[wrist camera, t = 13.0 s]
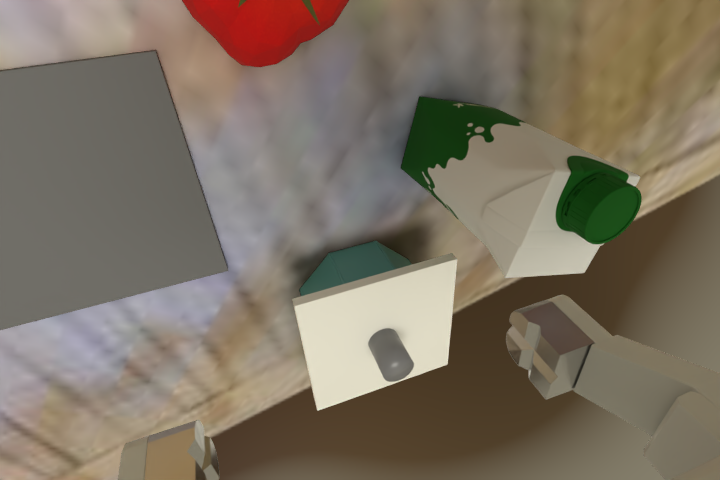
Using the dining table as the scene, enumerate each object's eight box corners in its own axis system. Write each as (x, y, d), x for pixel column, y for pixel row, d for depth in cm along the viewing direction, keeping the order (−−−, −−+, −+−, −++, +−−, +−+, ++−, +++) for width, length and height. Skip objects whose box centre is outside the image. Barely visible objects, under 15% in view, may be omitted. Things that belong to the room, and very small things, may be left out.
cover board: (451, 253, 40) (480, 284, 36) (443, 357, 50) (465, 391, 46) (291, 298, 37) (304, 339, 33) (315, 403, 46) (327, 444, 42)
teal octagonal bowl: (407, 231, 46) (437, 268, 41) (407, 314, 54) (433, 354, 48) (293, 262, 43) (309, 306, 38) (310, 344, 51) (325, 391, 45)
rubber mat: (155, 50, 29) (155, 51, 29) (227, 267, 41) (228, 270, 40) (-202, 96, 24) (-208, 98, 24) (-5, 327, 36) (-7, 331, 36)
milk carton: (490, 96, 40) (683, 182, 25) (461, 180, 45) (608, 298, 29) (412, 84, 37) (579, 176, 21) (389, 177, 41) (513, 308, 26)
